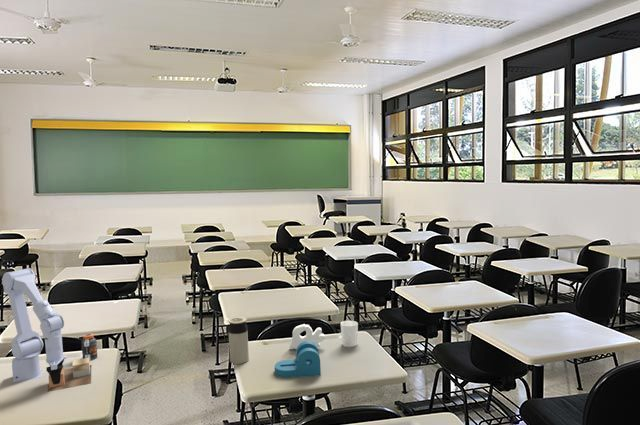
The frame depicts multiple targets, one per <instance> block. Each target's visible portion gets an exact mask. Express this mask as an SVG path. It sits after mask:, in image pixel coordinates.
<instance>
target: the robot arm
mask: <svg viewBox="0 0 640 425" xmlns="http://www.w3.org/2000/svg"><path fill="white" fill-rule="evenodd" d="M1 283H2V286H3V287H2V288H3V291H4V293H5V294H8V295H7V296H8V299H9V303H10V309H11V311H12V316H13V321H14V325H15V329H16V333H17V334H16V335H15V337H13V338H12V340H11V341H10V342H11V353H12V355H13V358H12V359H11V360H12V361H11V369H12V380H13V383H17V382H23V381H24V382H25V381H30V380H34V379H40V378H42V375H43V374H42V373H43V370H41V363H40V355H41V352H42V351H43V348H44V344H45V355H46V356H45V358H46V359H45V362H46V363H47V364H48V365H49V366H46V368H45V369H46V372H47V373H48V375H49V374H50V376H51V379H52V382H53V384H59V383H60V376H61V371H62V369H64V365H63V364H64V362H65V360H66V359H67V358H68V355H65V354H64V349H63V347H64V346H63V337H62V329H63V328H64V327H65V321H64V318H63V316H62V315H61V314H60V313H58V312H55V310H54V309H53V308H52V306H51V304H50V303H49V301H48V300H46V299H43V297H42V295H41V293H40V291H39V288H38V287H37V285H36V274H35V272H34V270H33V269H32V268H30V267H28V268H23V269H18V270H14V271H8V272H4V273H3V275H2V278H1ZM25 295H26V297H27V298H28V299H29V301H30V302H31V303H32V304H33V306H32V311H33V312H34V314H35V315H36V317H37V319H38V321H39V322H40V326H39V327H40V330H41V333H42V337H43V338H44V342H43V339H42V338H41V336H40V333H39V332H37V331H34V330H33V328H32V325H31V320H30V316H29V311H28V307H27V304H26V300H25V299H26V298H25Z"/></svg>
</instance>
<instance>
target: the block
mask: <svg viewBox="0 0 640 425" xmlns="http://www.w3.org/2000/svg"><path fill="white" fill-rule="evenodd" d="M64 369H65V368H62V371H61V376H60V383H59V384H53V382H52V379H51V376H50V374H49V373H48V386H49V388H51V387H56V386H61V385H64V383H65V376H64Z"/></svg>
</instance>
